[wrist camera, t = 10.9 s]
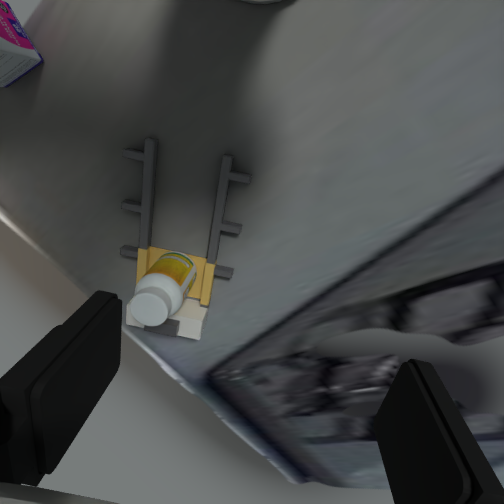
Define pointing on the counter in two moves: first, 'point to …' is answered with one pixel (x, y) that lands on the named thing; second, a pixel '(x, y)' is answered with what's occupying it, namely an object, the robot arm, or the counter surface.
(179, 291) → the supplement bottle
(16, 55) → the supplement box
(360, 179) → the counter surface
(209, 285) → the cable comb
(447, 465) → the robot arm
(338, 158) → the counter surface
